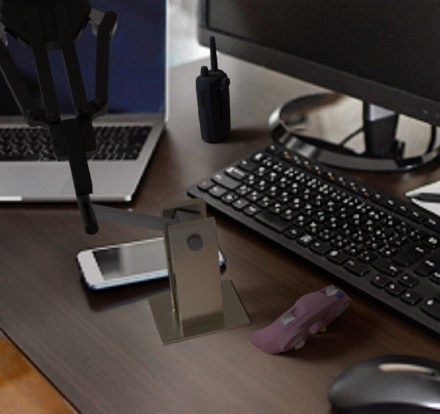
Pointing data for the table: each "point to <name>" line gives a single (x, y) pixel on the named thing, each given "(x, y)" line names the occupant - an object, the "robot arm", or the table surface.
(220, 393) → the table surface
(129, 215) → the lever
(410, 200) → the table surface
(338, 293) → the pink toy race car
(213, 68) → the two-way radio
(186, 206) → the bracket
